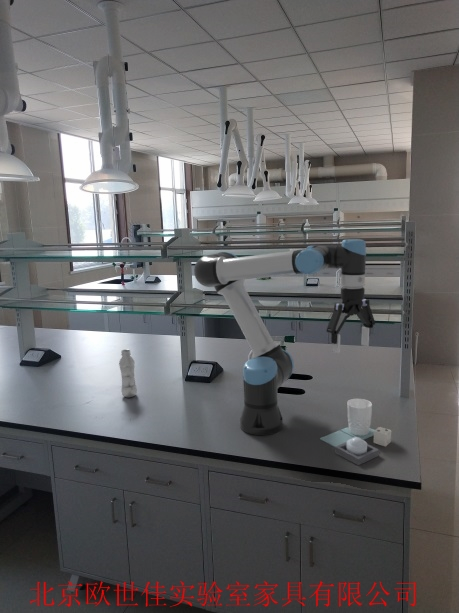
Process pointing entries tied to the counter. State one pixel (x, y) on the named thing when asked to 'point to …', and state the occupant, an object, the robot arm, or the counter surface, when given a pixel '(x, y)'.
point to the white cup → (359, 416)
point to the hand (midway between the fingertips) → (350, 349)
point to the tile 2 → (346, 430)
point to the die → (382, 436)
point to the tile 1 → (336, 438)
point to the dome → (357, 446)
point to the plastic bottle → (127, 374)
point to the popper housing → (358, 460)
